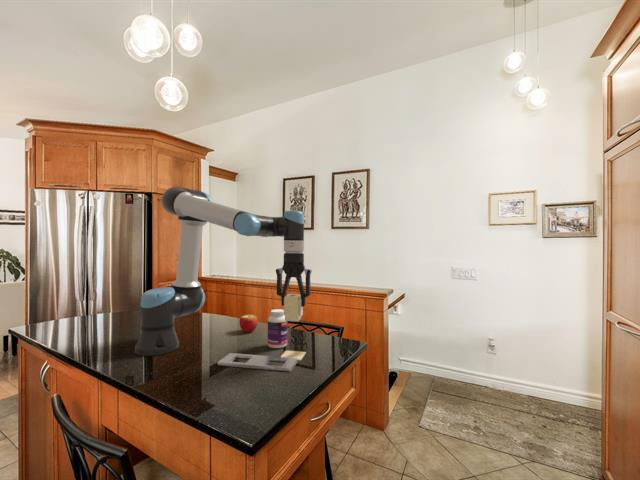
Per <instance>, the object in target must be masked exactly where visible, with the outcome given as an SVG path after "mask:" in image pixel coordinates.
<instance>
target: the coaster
mask: <svg viewBox="0 0 640 480" xmlns="http://www.w3.org/2000/svg"><path fill="white" fill-rule="evenodd" d="M306 354H307V352H306V351H297V350H284V352H283V353H282V354H281V356H280V357H286V358H298V362H302V360H303V358H304V357H305V356H306Z"/></svg>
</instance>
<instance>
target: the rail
mask: <svg viewBox="0 0 640 480" xmlns="http://www.w3.org/2000/svg"><path fill="white" fill-rule="evenodd" d="M237 359H245V360H246V359H247V361H246V362H242V361H240V362H238V361H236V360H237ZM271 361H272V362H273V361H274V362H283V364H282V365H273V364H269V363H270V362H271ZM298 362H299V361H298V358H286V357H281V356H271V355H257V354H247V353H246V354H245V353H234V352H230V353H228V354H226V355H225V356H224V357H223V358H222V359H220V360H219V361H217V366H223V367H235V368H246V369H255V370H256V369H258V370H266V371H267V370H269V371H281V372H290V373H291V371H293V369H294V367H295V366H296V365H297V363H298Z"/></svg>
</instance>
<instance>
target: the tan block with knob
mask: <svg viewBox="0 0 640 480" xmlns="http://www.w3.org/2000/svg"><path fill="white" fill-rule="evenodd" d="M300 297H301V295H300V294H298V293H287V294H286V296H285V315H284V316H285V321H288V322H297V323H299V321H300V320H301V319H302V316H299V298H300Z"/></svg>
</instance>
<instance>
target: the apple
mask: <svg viewBox="0 0 640 480" xmlns="http://www.w3.org/2000/svg"><path fill="white" fill-rule="evenodd" d="M251 311H252V310H250V311H249V313H248V314H245V315H242V316H240V318H239V322H238V323H239V326H240V329H241V330H242V331H243V332H244V333H252V332H254V331H255V330H256V328H257V327H258V323H259V322H258V321H259V319H258V317H257V315H254V314H251Z"/></svg>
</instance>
